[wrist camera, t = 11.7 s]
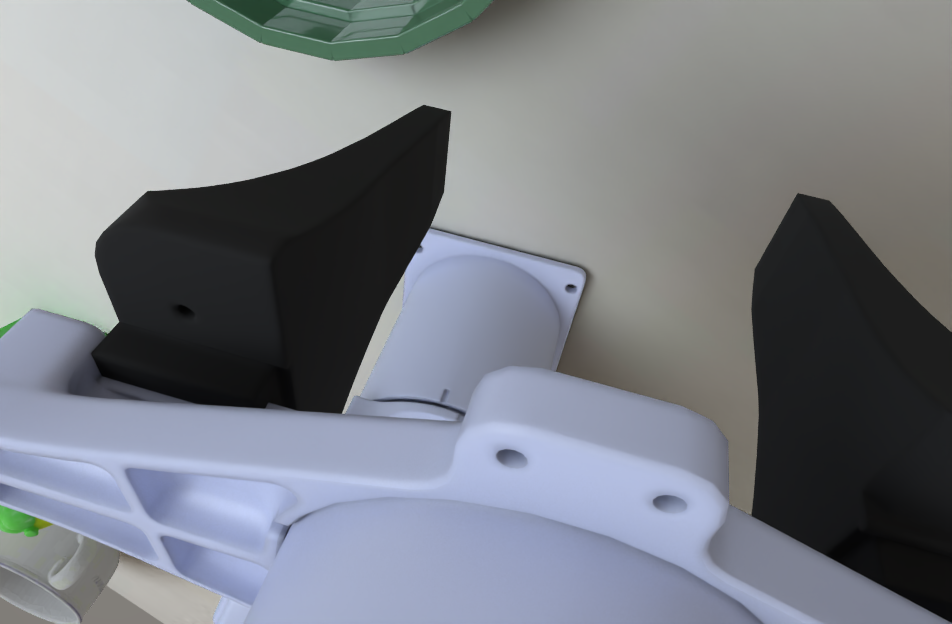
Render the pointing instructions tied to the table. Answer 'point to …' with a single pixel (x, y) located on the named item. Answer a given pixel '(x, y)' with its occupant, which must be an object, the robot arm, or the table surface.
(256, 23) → the bowl
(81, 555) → the teacup
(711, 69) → the table surface
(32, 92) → the table surface
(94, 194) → the table surface
